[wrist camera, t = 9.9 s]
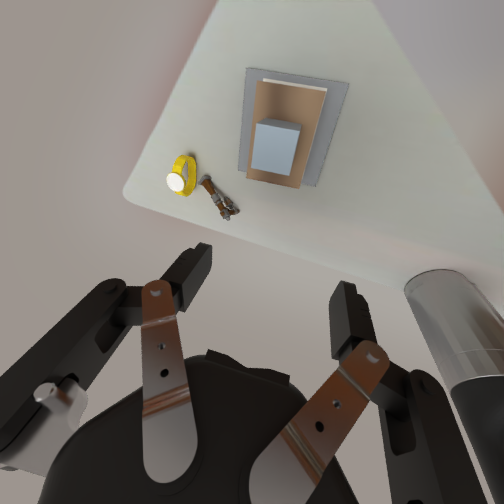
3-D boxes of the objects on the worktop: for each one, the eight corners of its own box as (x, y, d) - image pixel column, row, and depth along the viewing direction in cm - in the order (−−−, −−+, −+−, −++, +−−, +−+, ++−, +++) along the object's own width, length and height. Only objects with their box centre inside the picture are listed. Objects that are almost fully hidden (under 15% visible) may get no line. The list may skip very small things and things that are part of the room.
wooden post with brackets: (237, 219, 38) (222, 224, 34) (214, 183, 38) (196, 183, 35) (244, 214, 37) (229, 217, 33) (220, 176, 37) (202, 175, 34)
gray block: (301, 124, 23) (299, 131, 19) (292, 162, 25) (289, 175, 21) (265, 117, 23) (256, 123, 19) (260, 156, 26) (250, 167, 22)
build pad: (347, 83, 25) (349, 83, 24) (315, 184, 32) (315, 186, 31) (248, 68, 26) (246, 67, 25) (239, 168, 33) (237, 170, 32)
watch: (184, 151, 34) (164, 157, 29) (201, 154, 34) (183, 161, 29) (185, 187, 37) (167, 198, 32) (200, 191, 37) (184, 203, 32)
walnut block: (323, 91, 25) (326, 91, 21) (300, 176, 31) (299, 189, 27) (265, 81, 25) (256, 80, 21) (254, 167, 31) (246, 178, 28)
